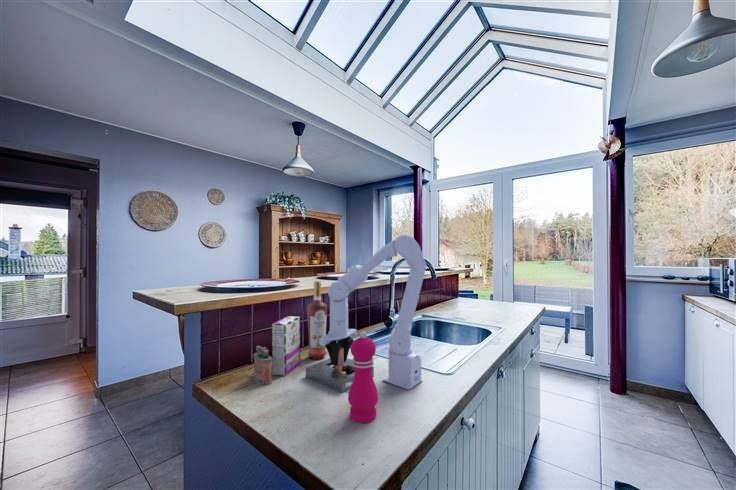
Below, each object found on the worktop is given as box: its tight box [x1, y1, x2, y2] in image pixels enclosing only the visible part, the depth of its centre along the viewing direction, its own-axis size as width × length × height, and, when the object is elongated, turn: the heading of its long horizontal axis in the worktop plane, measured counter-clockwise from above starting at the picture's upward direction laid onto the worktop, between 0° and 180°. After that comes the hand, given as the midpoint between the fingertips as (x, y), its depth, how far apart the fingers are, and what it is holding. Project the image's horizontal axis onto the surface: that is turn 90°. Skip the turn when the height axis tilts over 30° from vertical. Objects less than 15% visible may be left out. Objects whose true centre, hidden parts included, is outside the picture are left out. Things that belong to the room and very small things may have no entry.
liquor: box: [307, 280, 328, 360], centre depth 111 cm, size 7×7×28 cm
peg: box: [334, 347, 347, 375], centre depth 93 cm, size 4×4×9 cm
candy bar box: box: [271, 315, 301, 377], centre depth 99 cm, size 11×5×16 cm, turn 168°
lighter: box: [252, 345, 273, 387], centre depth 90 cm, size 8×3×10 cm, turn 47°
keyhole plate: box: [305, 357, 375, 393], centre depth 93 cm, size 16×14×3 cm
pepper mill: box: [347, 330, 379, 424], centre depth 71 cm, size 7×7×20 cm
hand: (338, 363), depth 93 cm, fingers closed on peg, 3 cm apart
